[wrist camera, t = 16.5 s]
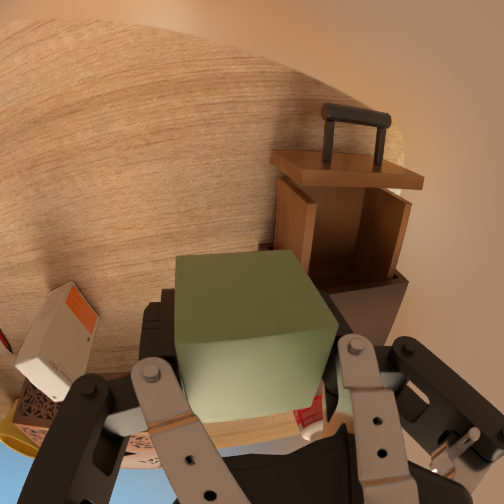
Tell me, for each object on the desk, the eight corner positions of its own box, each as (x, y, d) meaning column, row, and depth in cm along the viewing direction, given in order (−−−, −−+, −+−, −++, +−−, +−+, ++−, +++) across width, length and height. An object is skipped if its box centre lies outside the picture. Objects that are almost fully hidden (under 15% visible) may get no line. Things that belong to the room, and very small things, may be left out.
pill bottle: (283, 394, 46) (302, 448, 36) (315, 378, 45) (339, 431, 36) (295, 406, 49) (313, 455, 40) (324, 392, 49) (346, 440, 39)
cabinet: (258, 243, 31) (285, 300, 23) (361, 237, 33) (409, 281, 25) (253, 347, 38) (270, 405, 30) (337, 333, 41) (366, 382, 32)
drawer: (273, 99, 23) (306, 99, 16) (380, 113, 25) (432, 123, 19) (263, 284, 32) (284, 333, 26) (353, 274, 35) (387, 313, 28)
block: (175, 255, 11) (174, 343, 7) (291, 248, 12) (339, 324, 8) (186, 340, 13) (192, 424, 9) (280, 331, 14) (311, 407, 10)
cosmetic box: (101, 316, 31) (82, 398, 21) (77, 326, 31) (54, 403, 21) (72, 277, 28) (37, 357, 18) (48, 290, 28) (12, 365, 18)
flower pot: (52, 426, 42) (46, 465, 33) (10, 408, 37) (1, 445, 29) (52, 406, 38) (44, 450, 30) (5, 385, 34) (-8, 427, 26)
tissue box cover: (66, 419, 41) (59, 462, 32) (26, 373, 33) (12, 422, 25) (191, 416, 45) (196, 466, 36) (170, 368, 37) (173, 430, 29)
